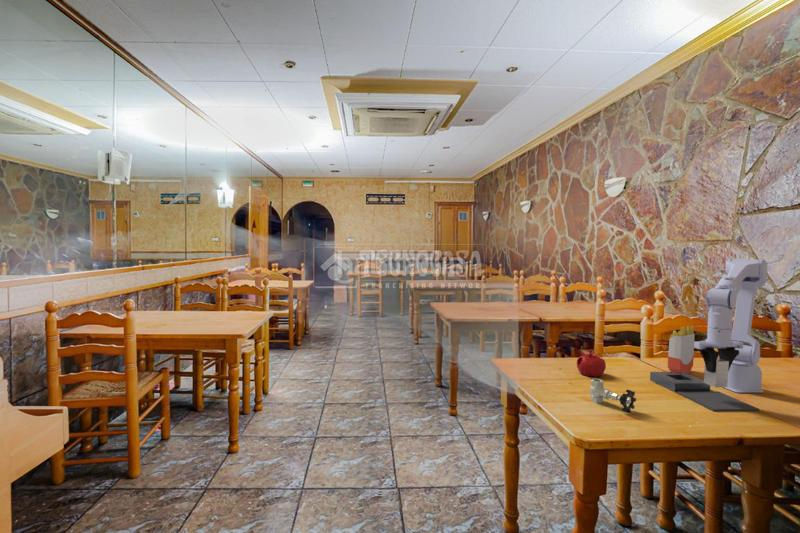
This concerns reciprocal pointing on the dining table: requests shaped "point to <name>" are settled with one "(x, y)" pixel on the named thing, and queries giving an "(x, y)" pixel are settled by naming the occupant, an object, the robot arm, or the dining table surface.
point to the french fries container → (681, 350)
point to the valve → (610, 395)
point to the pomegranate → (591, 364)
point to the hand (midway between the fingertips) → (717, 371)
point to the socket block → (679, 382)
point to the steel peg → (717, 374)
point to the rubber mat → (718, 401)
